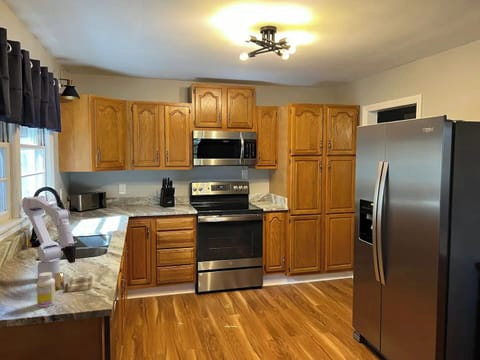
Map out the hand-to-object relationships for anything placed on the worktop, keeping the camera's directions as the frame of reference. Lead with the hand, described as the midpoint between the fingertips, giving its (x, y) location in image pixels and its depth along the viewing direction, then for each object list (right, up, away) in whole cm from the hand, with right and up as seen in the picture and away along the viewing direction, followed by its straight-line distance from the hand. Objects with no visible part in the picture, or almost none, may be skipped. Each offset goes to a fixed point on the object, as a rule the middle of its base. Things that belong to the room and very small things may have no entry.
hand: (72, 262), depth 166 cm
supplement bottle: (-1, -13, -19) cm, 23 cm away
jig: (+3, -11, +1) cm, 12 cm away
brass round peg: (-5, -12, -2) cm, 13 cm away
